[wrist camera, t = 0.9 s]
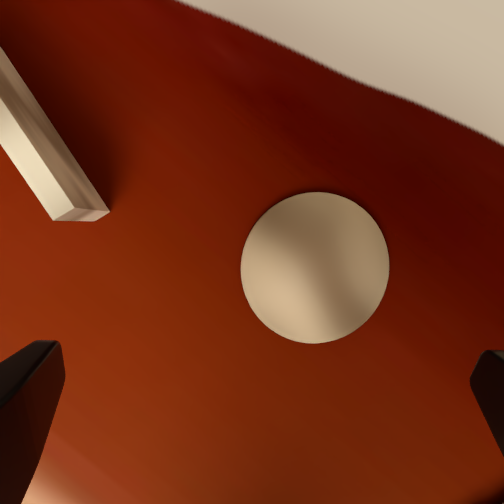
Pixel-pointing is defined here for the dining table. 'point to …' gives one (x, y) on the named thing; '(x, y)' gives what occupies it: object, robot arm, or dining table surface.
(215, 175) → the dining table surface
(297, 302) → the mat
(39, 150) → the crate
